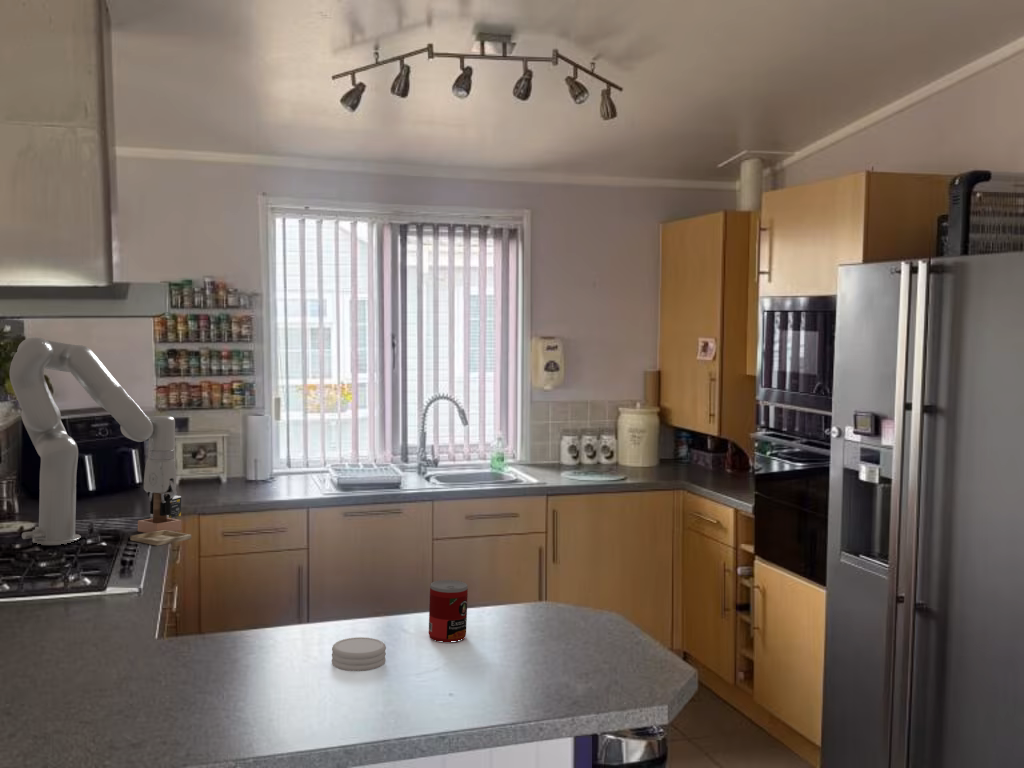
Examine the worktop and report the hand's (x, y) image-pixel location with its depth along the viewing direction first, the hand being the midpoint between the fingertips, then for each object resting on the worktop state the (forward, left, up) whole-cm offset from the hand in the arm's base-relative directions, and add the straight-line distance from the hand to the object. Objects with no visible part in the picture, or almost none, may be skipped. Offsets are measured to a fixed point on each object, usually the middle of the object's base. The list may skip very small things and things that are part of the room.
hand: (160, 513), depth 274 cm
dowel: (0, 0, -5) cm, 5 cm away
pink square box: (0, 0, -6) cm, 6 cm away
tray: (-8, -11, -6) cm, 15 cm away
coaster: (-53, -125, -7) cm, 136 cm away
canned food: (-31, -130, -6) cm, 134 cm away
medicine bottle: (+18, +20, -6) cm, 28 cm away
